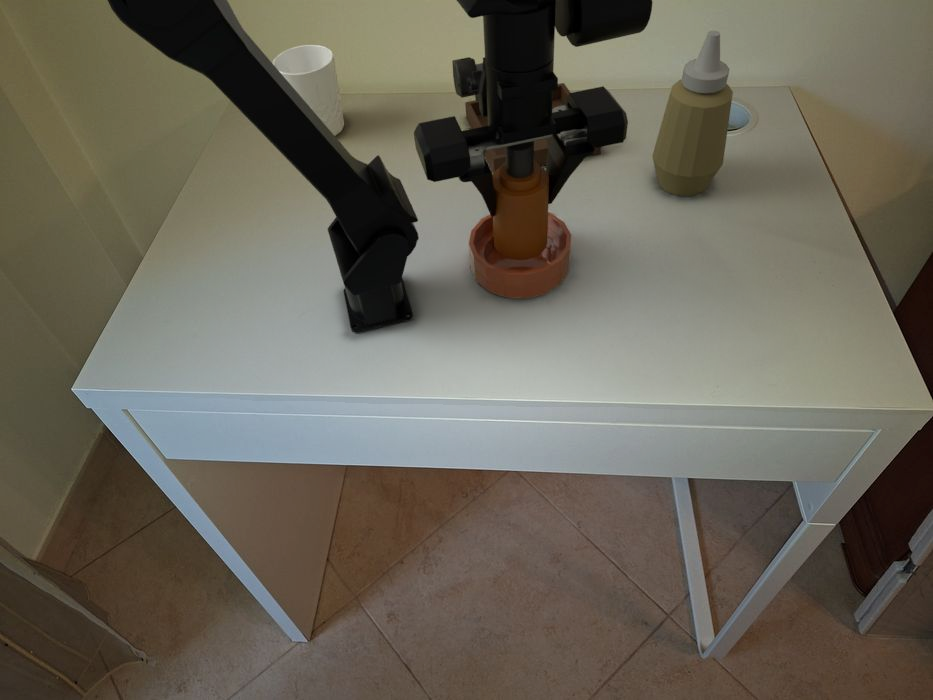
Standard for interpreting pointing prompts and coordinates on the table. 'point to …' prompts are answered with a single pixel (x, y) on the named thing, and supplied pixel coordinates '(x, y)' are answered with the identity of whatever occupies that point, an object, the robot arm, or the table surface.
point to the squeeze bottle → (695, 124)
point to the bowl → (520, 262)
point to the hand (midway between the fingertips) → (520, 207)
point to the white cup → (314, 81)
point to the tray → (499, 154)
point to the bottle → (520, 204)
